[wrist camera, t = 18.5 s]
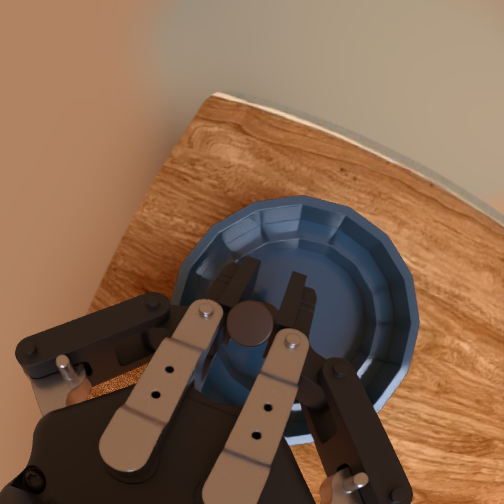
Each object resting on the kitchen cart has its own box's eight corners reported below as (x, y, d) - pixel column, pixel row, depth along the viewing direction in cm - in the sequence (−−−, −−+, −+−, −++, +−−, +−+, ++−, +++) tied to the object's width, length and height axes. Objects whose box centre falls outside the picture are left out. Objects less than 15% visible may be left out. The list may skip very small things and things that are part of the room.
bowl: (209, 422, 19) (188, 451, 14) (187, 241, 22) (161, 217, 17) (393, 394, 18) (426, 413, 13) (366, 215, 22) (390, 185, 16)
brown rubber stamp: (245, 343, 18) (218, 362, 10) (241, 305, 19) (210, 293, 10) (283, 338, 18) (290, 354, 10) (278, 300, 19) (280, 283, 10)
